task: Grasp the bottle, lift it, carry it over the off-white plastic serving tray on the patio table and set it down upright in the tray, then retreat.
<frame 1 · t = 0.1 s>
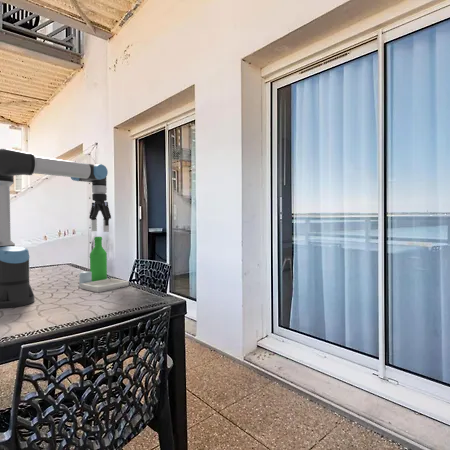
hand: (100, 231, 182), 28 cm above the table, fingers open, 13 cm apart
bottle: (98, 281, 184), on the table
tray: (105, 287, 166), on the table
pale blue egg: (85, 285, 171), on the table
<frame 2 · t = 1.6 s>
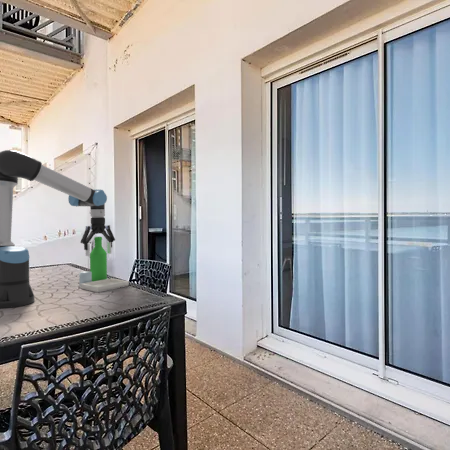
hand: (98, 254, 183), 15 cm above the table, fingers open, 13 cm apart
nothing on the table moved.
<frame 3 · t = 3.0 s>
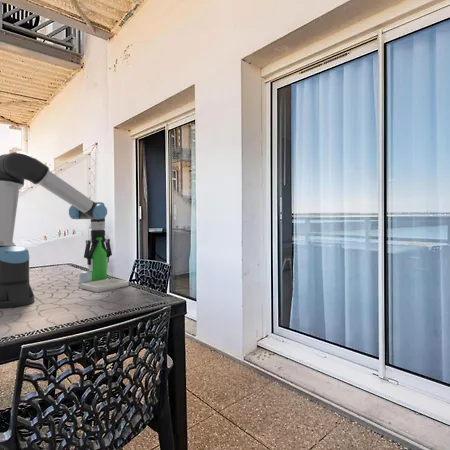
hand: (98, 269, 183), 6 cm above the table, fingers closed on bottle, 9 cm apart
bottle: (98, 281, 184), on the table, touching gripper
everything else where it was.
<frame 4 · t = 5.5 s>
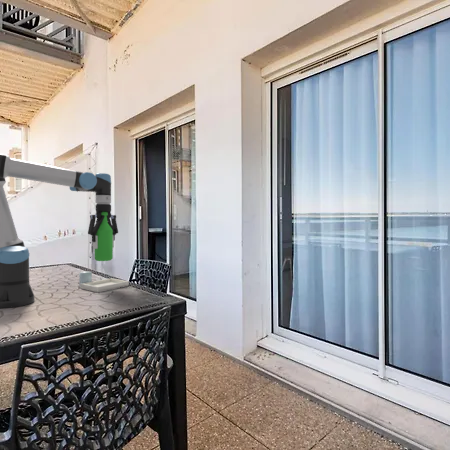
hand: (103, 247, 167), 20 cm above the table, fingers closed on bottle, 9 cm apart
bottle: (103, 260, 167), point 13 cm above the table, touching gripper
everything else where it was.
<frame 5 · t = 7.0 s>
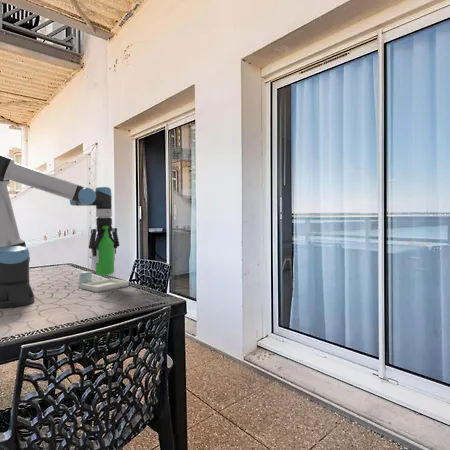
hand: (104, 261, 166), 13 cm above the table, fingers closed on bottle, 9 cm apart
bottle: (105, 274, 166), point 7 cm above the table, touching gripper
everything else where it was.
when the fingers open (8 cm above the table, at t = 8.4 s): bottle drops 1 cm, resting on tray.
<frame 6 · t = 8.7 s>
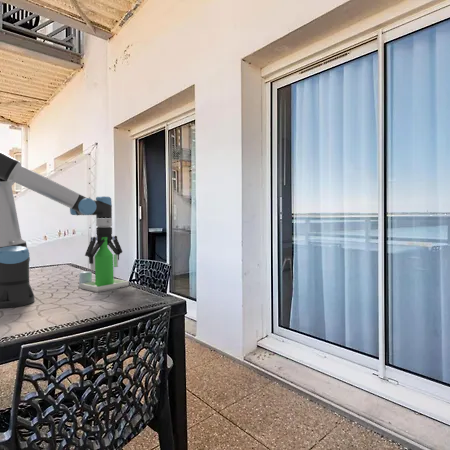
hand: (104, 268, 166), 10 cm above the table, fingers open, 13 cm apart
bottle: (104, 285, 166), point 1 cm above the table, touching tray
everything else where it was.
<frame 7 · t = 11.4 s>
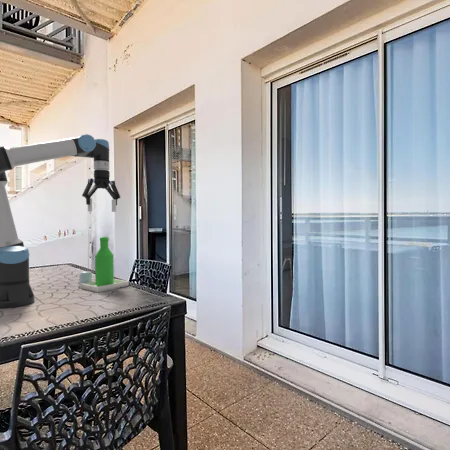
hand: (102, 211, 167), 39 cm above the table, fingers open, 13 cm apart
nothing on the table moved.
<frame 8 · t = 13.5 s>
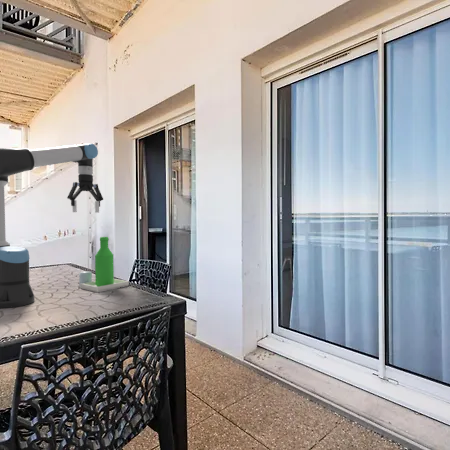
hand: (86, 212, 182), 39 cm above the table, fingers open, 13 cm apart
nothing on the table moved.
at the end: bottle inside the target area on the tray (0.1 cm from its centre), point 0.6 cm above the tray's base; bottle tilted 0°; the gripper is holding nothing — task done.
